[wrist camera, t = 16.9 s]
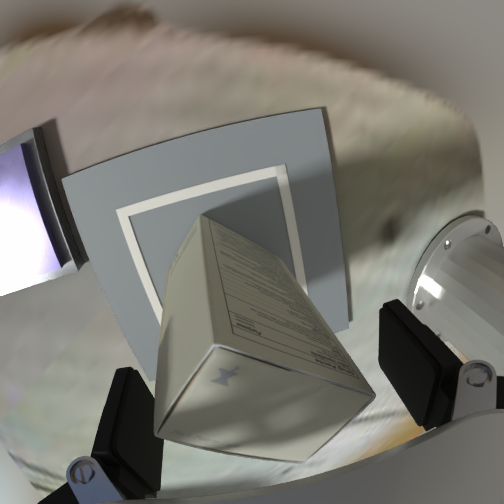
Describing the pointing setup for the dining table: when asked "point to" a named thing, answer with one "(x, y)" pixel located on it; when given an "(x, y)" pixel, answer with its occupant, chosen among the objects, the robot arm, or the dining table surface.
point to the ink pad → (32, 217)
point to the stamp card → (212, 214)
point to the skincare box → (248, 355)
